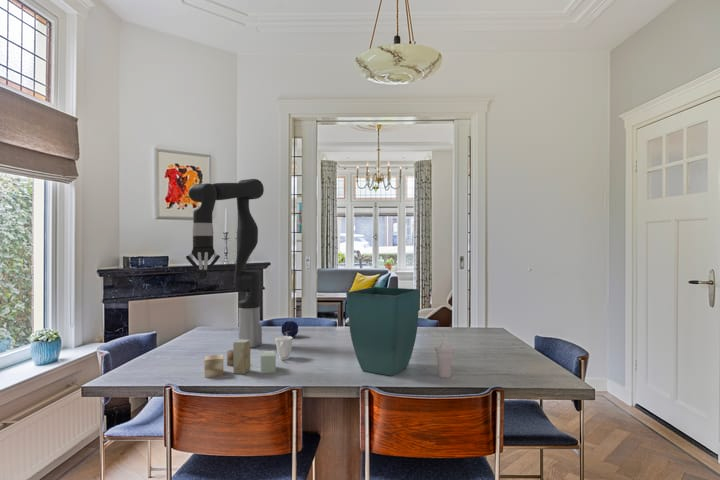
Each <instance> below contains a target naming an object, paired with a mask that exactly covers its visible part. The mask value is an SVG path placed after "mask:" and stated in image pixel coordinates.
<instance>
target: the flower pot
mask: <svg viewBox="0 0 720 480" xmlns="http://www.w3.org/2000/svg"><path fill="white" fill-rule="evenodd" d="M345 294H346V303H347V313H348V314H347V315H348V325H349V333H350V339H351V342H352V343H351V344H352V346H353V350H354V353H355V356H356V359H357V362H358V364H359V367H360V369H361V371H362V372H368V373H374V374H378V375H386V376H394V375H396V374H398V373H400V372H401V371H402V370H404V369H406V368H407V367H408V366H409V363H410V360H411V358H412V354H413V350H414V347H415V343H416V339H417V333H418V327H419V312H420V311H419V308H420V294H421V290H420V289H417V288H405V287H404V288H401V287H385V286H384V287H383V286H373V287H372V286H371V287H367V288H362V289H357V290H352V291H347V292H345Z"/></svg>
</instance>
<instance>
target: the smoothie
mask: <svg viewBox="0 0 720 480" xmlns="http://www.w3.org/2000/svg"><path fill="white" fill-rule="evenodd" d="M444 343H445V342H444V334H443V333H442V334H441V345H436V346H435V347H434V351H435V353H436V361H437V369H438V376H439V378H440V377H441V378H443V379H444V378H450V377H451V373H452V364H453V356H454V352H455V348H454V346H451V345H446V344H444Z"/></svg>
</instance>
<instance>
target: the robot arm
mask: <svg viewBox="0 0 720 480" xmlns="http://www.w3.org/2000/svg"><path fill="white" fill-rule="evenodd" d="M264 189H265V187H264V185H263V183H262V181H261V180H259V179H257V178H248V179H241V180H239V181H238V182H215V183H197V184H193V185H191V186H190V187H189V189H188V196H189V199H190V200H192V201H193V202H195V203H201V204H200V206H198V207H196V208H194V209H193V212H192V213H193V217H192V219H193V221H192V223H193V224H192V250H191V253H190V254H188V255H186V257H185V259H186V260H187V261H188V263H190V264H191V266H192V267H193V268H194V269H197V270H198V271H199V273H198V274H199V279H201V280H204V281H205V280H206V279H207V278H208V270H209V269H211V268H213V266H215V264H216V263H217V262H218V260H219V259H220V257H221V255H219V254H217V252H216V251H215V249H214V226H213V212H214V210H215V209H214V208H215V205H216V201H224V200H231V199H236V207H237V210H236V211H237V222H236V224H237V228H236V260H235V270H234V279H233V282H234V283H233V284H234V289H235V291H236V292H237V293H249V296H248V297H246V298H245V299H241V300H239V302H237V303H238V304H237V305H238V314H237V315H238V340H240V339H244V340H250V349H251V348H257V347H259V346H261V345H263V332H262V331H263V330H262V329H263V327H262V326H263V325H262V323H261V319H260V318H261V317H260V316H261V314H260V311H261V309H260V308H261V307H260V302H261V284H262V280H261V279H262V277H261V274H260V272H258V271H249V270H247V271H246V267H247V262H248V260H249V258H250V256H251V254H252V253H253V252H254V250H255V249H256V247H257V245H258V240H259V228H258V225H257V223H256V220H255V219H254V218H253V217H254V216H252V213H251V211H250V200H257V199H259V198H261V197H263V196H264V192H265V191H264ZM194 258H195V260H196V261H197V262H198V264H197V263H196V262H195V261H194V260H193V259H194ZM211 258H213V260H212V261H211V263H210V264H209V261H210V260H211ZM203 261H204V262H203Z"/></svg>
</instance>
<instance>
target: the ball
mask: <svg viewBox="0 0 720 480" xmlns="http://www.w3.org/2000/svg"><path fill="white" fill-rule="evenodd" d="M298 333H299V325H298V323H297V322H296V321H295V320H286V321H285V322H283V324H282V325H281V334H282V336H291V337H292V338H294V337H296V336H297V335H298Z"/></svg>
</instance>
